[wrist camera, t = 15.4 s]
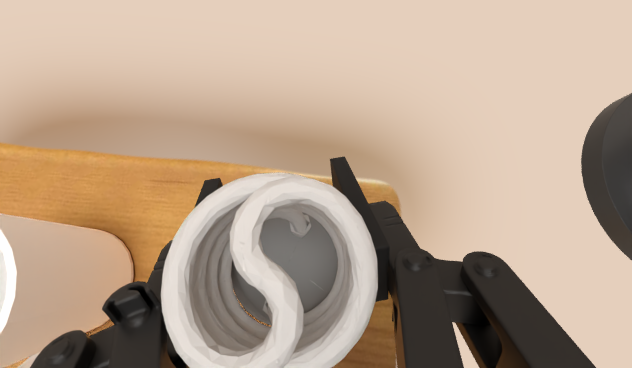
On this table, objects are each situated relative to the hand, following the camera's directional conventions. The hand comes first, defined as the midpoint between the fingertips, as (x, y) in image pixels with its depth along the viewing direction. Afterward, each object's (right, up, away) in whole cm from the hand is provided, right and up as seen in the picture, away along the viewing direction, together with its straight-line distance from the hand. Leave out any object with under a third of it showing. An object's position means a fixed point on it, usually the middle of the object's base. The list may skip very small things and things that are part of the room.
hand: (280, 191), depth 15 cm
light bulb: (+1, -4, +3) cm, 5 cm away
